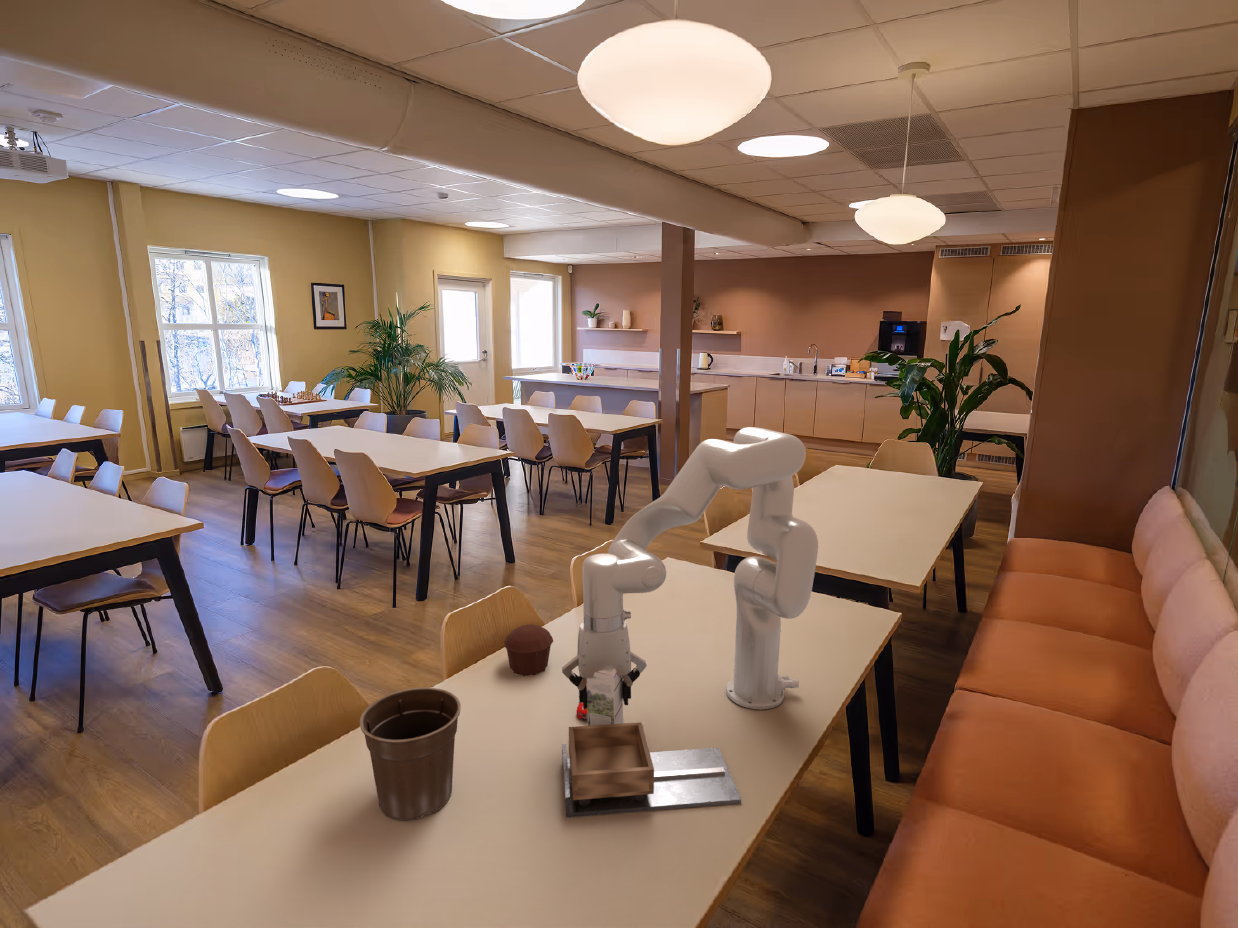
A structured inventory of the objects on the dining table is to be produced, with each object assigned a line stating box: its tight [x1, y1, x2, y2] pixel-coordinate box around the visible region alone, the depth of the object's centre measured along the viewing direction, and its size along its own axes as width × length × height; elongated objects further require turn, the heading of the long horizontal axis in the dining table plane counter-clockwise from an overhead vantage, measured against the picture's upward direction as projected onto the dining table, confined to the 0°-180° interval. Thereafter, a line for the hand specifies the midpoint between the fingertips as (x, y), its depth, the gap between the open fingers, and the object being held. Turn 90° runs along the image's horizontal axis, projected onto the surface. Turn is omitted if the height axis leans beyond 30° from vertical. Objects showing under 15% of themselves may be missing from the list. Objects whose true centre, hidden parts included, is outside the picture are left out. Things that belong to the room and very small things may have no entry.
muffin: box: [503, 623, 554, 677], centre depth 157 cm, size 12×11×10 cm
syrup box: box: [586, 669, 625, 726], centre depth 128 cm, size 6×6×14 cm
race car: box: [576, 684, 588, 722], centre depth 141 cm, size 13×5×4 cm, turn 170°
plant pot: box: [359, 687, 462, 821], centre depth 112 cm, size 16×16×16 cm
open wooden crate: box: [568, 721, 654, 806], centre depth 116 cm, size 14×14×7 cm
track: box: [561, 743, 742, 819], centre depth 117 cm, size 30×14×4 cm, turn 97°
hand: (605, 702), depth 128 cm, fingers closed on syrup box, 7 cm apart
